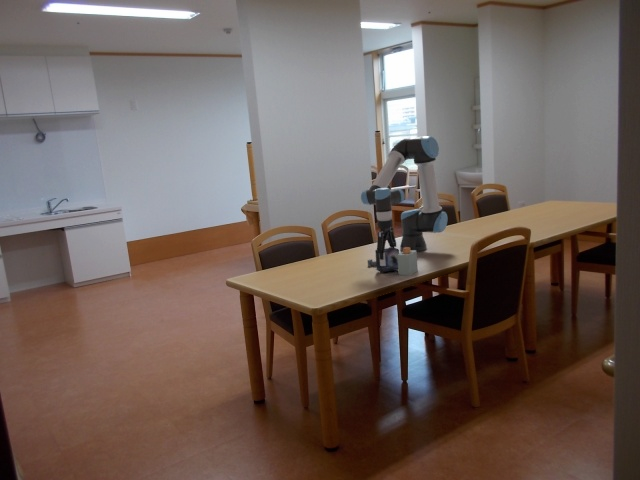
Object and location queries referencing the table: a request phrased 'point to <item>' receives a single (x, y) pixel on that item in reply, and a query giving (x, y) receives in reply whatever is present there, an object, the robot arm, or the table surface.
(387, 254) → the small box
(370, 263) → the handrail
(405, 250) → the button
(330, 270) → the table surface
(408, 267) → the end cabinet
